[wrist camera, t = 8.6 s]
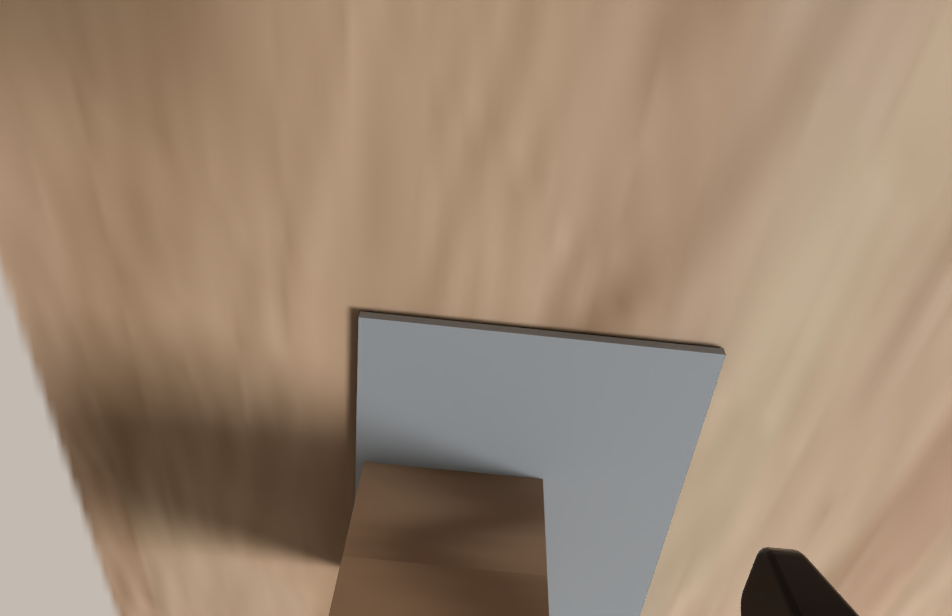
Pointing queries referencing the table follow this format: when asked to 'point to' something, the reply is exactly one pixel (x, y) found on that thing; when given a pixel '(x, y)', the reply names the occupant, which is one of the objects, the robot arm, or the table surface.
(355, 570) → the walnut block upper
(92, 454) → the table surface
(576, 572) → the slate mat
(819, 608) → the robot arm
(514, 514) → the walnut block lower
